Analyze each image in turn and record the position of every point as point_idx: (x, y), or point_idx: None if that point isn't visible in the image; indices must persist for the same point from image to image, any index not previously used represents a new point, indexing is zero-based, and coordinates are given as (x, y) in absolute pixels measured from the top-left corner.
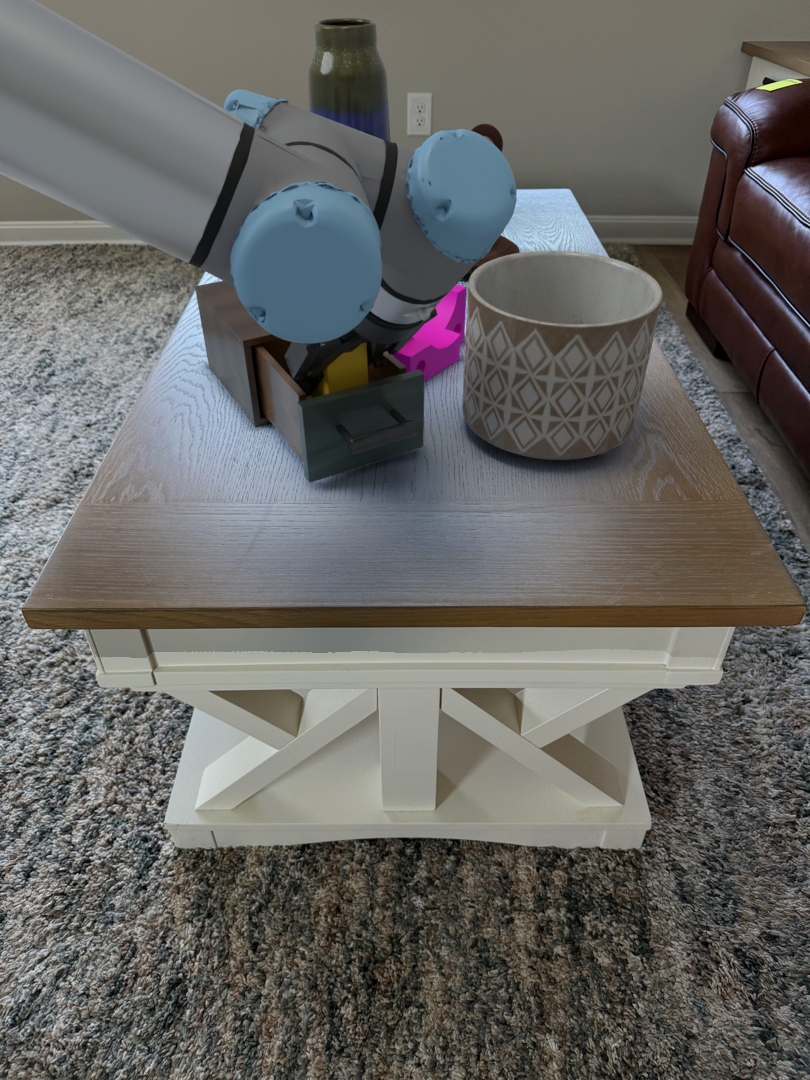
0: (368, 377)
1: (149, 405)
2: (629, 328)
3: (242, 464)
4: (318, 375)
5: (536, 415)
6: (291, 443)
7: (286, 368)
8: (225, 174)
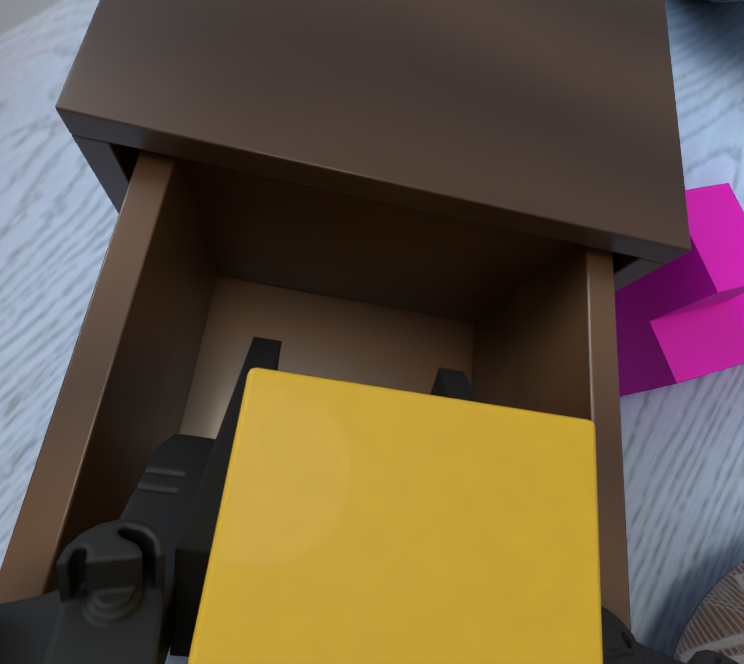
0: None
1: (18, 45)
2: None
3: (12, 441)
4: (177, 648)
5: None
6: None
7: (288, 240)
8: None
